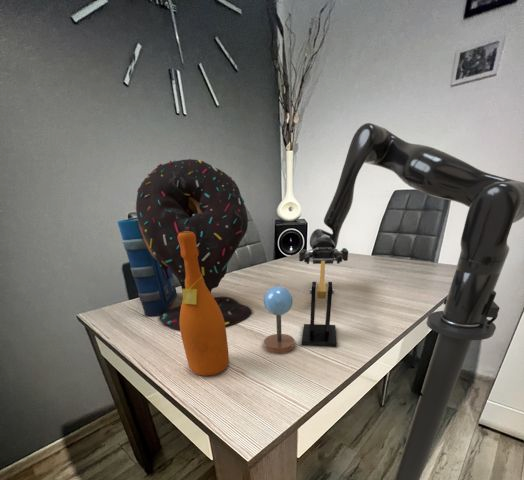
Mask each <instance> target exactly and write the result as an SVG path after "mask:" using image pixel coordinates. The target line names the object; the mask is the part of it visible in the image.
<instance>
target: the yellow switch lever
mask: <svg viewBox="0 0 524 480" xmlns="http://www.w3.org/2000/svg"><path fill="white" fill-rule="evenodd" d="M312 264H313V265H320V271H319V272H320V273H319V283H317V286H316V299H327V286H328V283H325V274H326V273H325V272H326V265H333V264H334V261H333V258H313V262H312Z"/></svg>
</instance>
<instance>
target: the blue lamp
mask: <svg viewBox="0 0 524 480" xmlns="http://www.w3.org/2000/svg"><path fill="white" fill-rule="evenodd" d="M293 302H294V299H293V295H292V293H291V292H290V290H289V289H287V288H286V287H284V286H281V285H277V286H272V287H271V288H269V289H268V290H267V291H266V292H265V294H264V297H263V305H264V308H265V310H266V311H267V312H268V313H269V314H271V315H273V316H275V318H276V320H275V321H276V324H275V325H276V333H273V334H270V335H268V336H267V337H265V338H264V340H263V347H264V349H265V350H266V351H267V352H269V353H272V354H277V355H278V354H286V353H289V352H292V351H293V350H294V348H295V344H296V343H295V338H294V337H293V336H292V335H289V334H286V333H282V316H283V315H285V314H287V313H289V311H290V310H291V309H292V307H293V304H294V303H293Z"/></svg>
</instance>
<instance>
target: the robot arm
mask: <svg viewBox="0 0 524 480" xmlns="http://www.w3.org/2000/svg"><path fill="white" fill-rule="evenodd" d="M348 147H349V148H348V151H347V153H346V157H345V161H344V164H343V168H342V171H341V174H340V176H339V177H340V178H339V180H338V184H337V187H336V190H335V192H334V196H333V197H332V200H331V202H330V204H329V206H328V209H327V211H326V213H325V216H324V218H323V223H324V225H325V226H327V228H329V229H330V230H331V231H332V233H331V232H329V231H327V230H324V229H322V228H317V229H315V230H314V231H312V233H311V234H310V237H309V246H310V248H311V249H309V251H307V250H306V249H305V248H302V249H300V251H299V254H298V261H299V262H303V261H304V263H306V264H307V265H309V264H310V262H312V263H313V258H333V262H336V264H340V263H342V262H343V261H344V262H347V261H349V260H348V259H349V250H348V249H347V248H346V247H343V248H342V249H340V250H338V248H337V246H338V243H339V237H340V233H341V230H342V227H343V225H344V222H345V220H346V218H347V216H348V215H349V213H350V210H351V208H352V205H353V201H354V192H355V186H356V181H357V178H358V175H359V173H360V171H361V169H362V167H363V166H364V164H367V165H372V166H377V167H380V168H382V169H386V170H389V171H391V172H393V173H394V174H395V175H396V176H397V177H398V178H399V179H400V180H401V181H402V182H403V183H404V184H405V185H407V186H409V187H410V188H412V189H414V190H417V191H418V192H420V193H421V194H425V195H428V196H431V197H433V198H434V197H435V198H439V199H441V200H446V201H447V200H448V201H452V202H455V203H456V202H457V203H460V204H462V205H464V206H466V207H468V211H467V214H466V217H465V221H464V226H463V230H462V234H461V238H460V254H459V257H458V261H457V263H456V268H455V271H454V274H453V277H452V281H451V284H450V287H449V290H448V294H447V297H446V298H445V299H444V301H443V305H444V307H443V310H442V311H443V313H442V316H441V320H442V321H443V322H444V323H446V324H448V325H451V326H454V327H459V328H468V329H471V328H478V327H480V328H483V327H484V324H485V321H486V319H488V318H491V319H489V320H490V321H488V322H487V324H489V325H490V324H491V323H492V322H493V323H494V322H495V321H496V320H497V319H498V316H499V312H500V309H501V308H500V306H499V305H498V304H497V303H496V302H495V298H496V296H497V292H496V291H495V289H496V287H497V284H498V281H499V278H500V275H501V273H502V271H503V268H504V265H505V262H506V260H507V258H508V255H509V252H510V246H509V245H508V238H509V236H510V232H511V229H512V225H513V224H514V223H516V222H519V221H520V220H522V219H523V218H524V181H520V180H516V179H511V178H506V177H503V176H499V175H496V174H492V173H489V172H485V171H483V170H481V169H479V168H476V167H475V166H473V165H471V164H470V163H468V162H466V161H464V160H462V159H460V158H458V157H456V156H453V155H451V154H449V153H447V152H445V151H443V150H440V149H437V148H435V147H433V146H430V145H429V146H428V145H425V144H418V143H410V142H408V141H405V140H404V139H401V138H400V137H398V136H397V135H396V134H394V133H392V132H391V131H389V130H388V129H386V128H385V127H382V126H379V125H377V124H375V123H371V122H366V123H364V124H362V125H360V126H359V127H358V129H357V130H356V131H355V133H354V135H353V137H352V139H351V141H350V144H349V146H348Z"/></svg>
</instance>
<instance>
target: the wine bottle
mask: <svg viewBox="0 0 524 480" xmlns="http://www.w3.org/2000/svg"><path fill="white" fill-rule="evenodd" d="M178 241H179V244H180V249H181V256H182V258H183V259H184V263H185V271H186V279H185V283H184V284H185V289H183V290H182V300H181V305H180V306H181V310H180V320H179V323H180V330H179V332H180V337H181V340H182V344H183V349H184V353H185V357H186V361H187V364H188V367H189V369H190V371H191V372H192V373H193V374H195V375H198V376H205V377H207V376H214V375H216V374H219V373H221V372H223V371H224V370H225V369H226V368H227V367H228V365H229V363H230V356H229V343H228V336H227V328H226V327H225V322H224V318H223V315H222V312H221V310H220V308H219V306H218V304H217V302H216V301H215V299H214V298H215V297H214V296H213V294H212V292H211V293H210V291H209V290H208V288H207V286H206V285H205V282H204V279H203V276H202V274H201V272H200V268H199V264H198V259H197V257H198V255H199V253H198V250H197V245H196V236H195V234H194V233H193V232H191V231H184V232H181V233H179V234H178Z"/></svg>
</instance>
